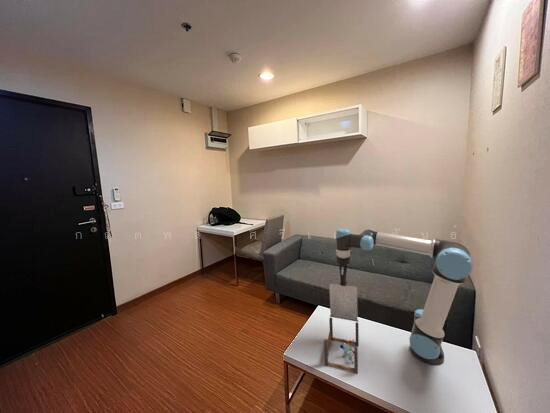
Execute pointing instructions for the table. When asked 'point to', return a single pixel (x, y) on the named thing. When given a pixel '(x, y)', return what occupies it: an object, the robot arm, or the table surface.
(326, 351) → the housing
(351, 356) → the molecular model
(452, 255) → the robot arm
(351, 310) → the lid
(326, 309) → the table surface
